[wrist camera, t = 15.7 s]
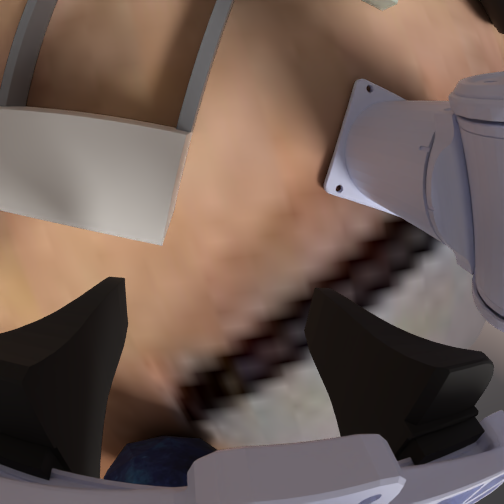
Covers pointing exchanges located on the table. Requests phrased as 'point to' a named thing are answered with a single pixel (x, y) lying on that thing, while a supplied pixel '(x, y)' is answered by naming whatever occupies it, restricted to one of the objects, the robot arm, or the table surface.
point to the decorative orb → (158, 461)
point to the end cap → (495, 13)
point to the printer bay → (93, 147)
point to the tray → (381, 3)
